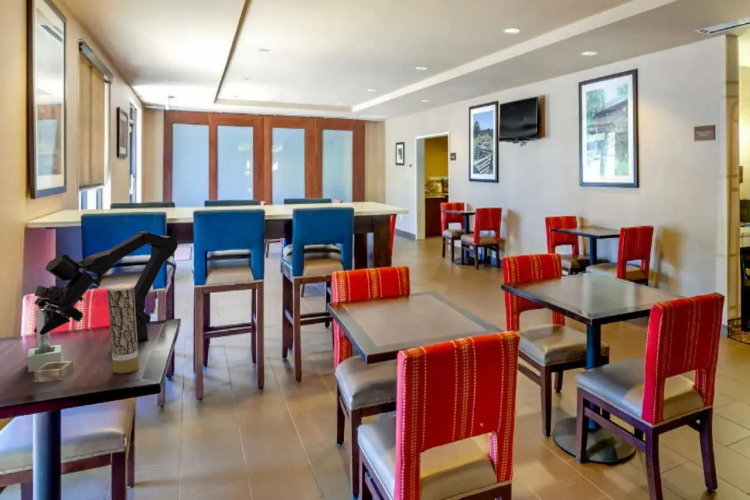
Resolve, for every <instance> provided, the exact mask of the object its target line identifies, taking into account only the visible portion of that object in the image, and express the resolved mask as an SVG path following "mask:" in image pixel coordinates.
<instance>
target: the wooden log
mask: <svg viewBox="0 0 750 500" xmlns="http://www.w3.org/2000/svg"><path fill="white" fill-rule="evenodd" d="M134 287H135V286H134V284H133V283H120V284H119V283H118V284H113V285H109V286H107V287H106V292H107V307H108V320H109V331H110V332H109V333H110V337H109V338H110V345H111V346H110V347H111V348H110V349H111V359H112V362H111V363H112V371H113V372H114V373H116V374H118V375H120V374H121V375H123V374H129V373H130V374H131V373H133V372H136V371H137V370H138V369H139V367H140V362H139V361H140V360H139V345H138V344H139V343H138V341H137V325H136V309H135V294H134Z"/></svg>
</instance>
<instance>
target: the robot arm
mask: <svg viewBox="0 0 750 500" xmlns="http://www.w3.org/2000/svg"><path fill="white" fill-rule="evenodd" d="M145 245H147V246H150V257H149V259H148V261H147V263H146V265H145V267H144V268H143V271H142V272H141V274H140V276H139V278H138V280H137V282H136V284H135V286H134V294H135V309H136V325H137V341H138V342H139V343H140V342H143V341H144V342H145V341H146V342H147V341H149V340H150V339H149V337H148V336H149V335H148V324H149V323H150V322H151V318H152V317H151V315H149V314H148V313H147V312H145V310H146V304H147V303H146V299H147V296H148V294H149V292H150V290H151V288H152V286H153V284H154V282H155V281H156V279H157V277H158V275H159V274H160V272H161V269H162V267H163V265H164V264H165V262H166V261H167V260H168V259H169V258H171V257H172V256H173V255H174V253H175V252H176V250H177V249H178V246H179V243H178V239H176V238H175V237H173V236H170V235H169V236H168V235H167V236H166V235H157V234H155V233H151V232H149V231H139V232H137V233H136V234H135V235H132V236H131V237H129V238H128V239H125V240H124V241H122V242H120V243H119V244H117V245H115V246H113V247H111V248H109V249H107V250H104V251H101V252H95V253H93V254H91V255H87V256H86V257H85V258H84V259H83V260H79V261H75V260H74V259H72V258H71V257H70V256H69V255H68V254H67V253H60V255H58V256H56V257H54V258H53V259H51V260H50V261H49V262H48V263H47V264H46V266H45V270H46V271H47V272H48V273H49V274H51V275H53V276H54V278H57V279H58V280H59V281H61V282H65V281H66V284H65V285H64V286H56V285H51V286H49V287H48V286H47V287H46V286H42V285H37V287H36V290H35V292H34V294H33V296H35V297H38V298H37V299H36V300H35V301H33V304H34V305H36V306H37V307H38V309H41V308H47V312H48V320H47V322H46V323H45V325H44V326H43V328H42V329H41V331H40V332H39V334H41V335H44V334H46V333H48V332H49V333H51V331H53V330H55V329H57V328H59V327H62V326H64V325H66V324H67V323H70V322H71V320H70V319H72V321H74V322H76V323H80V321H81V320H83V317H84V313H83V312H82V311H81V310H79V309H78V308H76V307H75V306H76V304H78V303H79V301H80V302H82V301H84V297H83V296H84V295H85V294H86V293H87V291H88V290H89V289H90V288H91V287H92V286H94V287H100V286H101V282H100V278H99V277H96V276H95V277H94V276H93V275H97V276H101V275H105V274H106V273H108V272H109V271H110V270H112V268H113V267H114V266H115V265H116V263H117V262H119V261H120V260H122V259H124V258H125V257H127V256H128V255H130V254H132V253H134V252H135V251H137V250H138V249H141V248H142V247H144V246H145ZM83 271H84V273H83ZM67 281H68V282H67ZM33 332H34V333H35V334H37V328H36V326H35V327H34V329H33Z"/></svg>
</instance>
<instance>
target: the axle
mask: <svg viewBox="0 0 750 500" xmlns="http://www.w3.org/2000/svg"><path fill="white" fill-rule="evenodd" d="M34 316H35V327H36V328H37V333H36V335H37V337H36V338H37V345H38V347H37V348H39V354H42V353H48V352H51V346H52V344H51V336H50V335H51V334H50V333H51V332H48V333H46V334H44V335H41V334H39V332H40V331H41V329H42V328H43V326H44V325H45V323H46V322H47V320H48V312H47V308H41V309H40V308H37V309H34Z"/></svg>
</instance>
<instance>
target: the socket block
mask: <svg viewBox="0 0 750 500" xmlns="http://www.w3.org/2000/svg"><path fill="white" fill-rule="evenodd" d="M62 352H63V351H62V345H61V344H55V345H51V352H48V353H42V354H39V348H38V347H34V348H29V349H28V352H27V357H26V360H27V369H28V370H27V371H28V373H31V372H33V373H34V371H36V370H37V369H38V368H39V367H41V366H42V365H43V364H44V363H46V362H61V361H63V353H62Z"/></svg>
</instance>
